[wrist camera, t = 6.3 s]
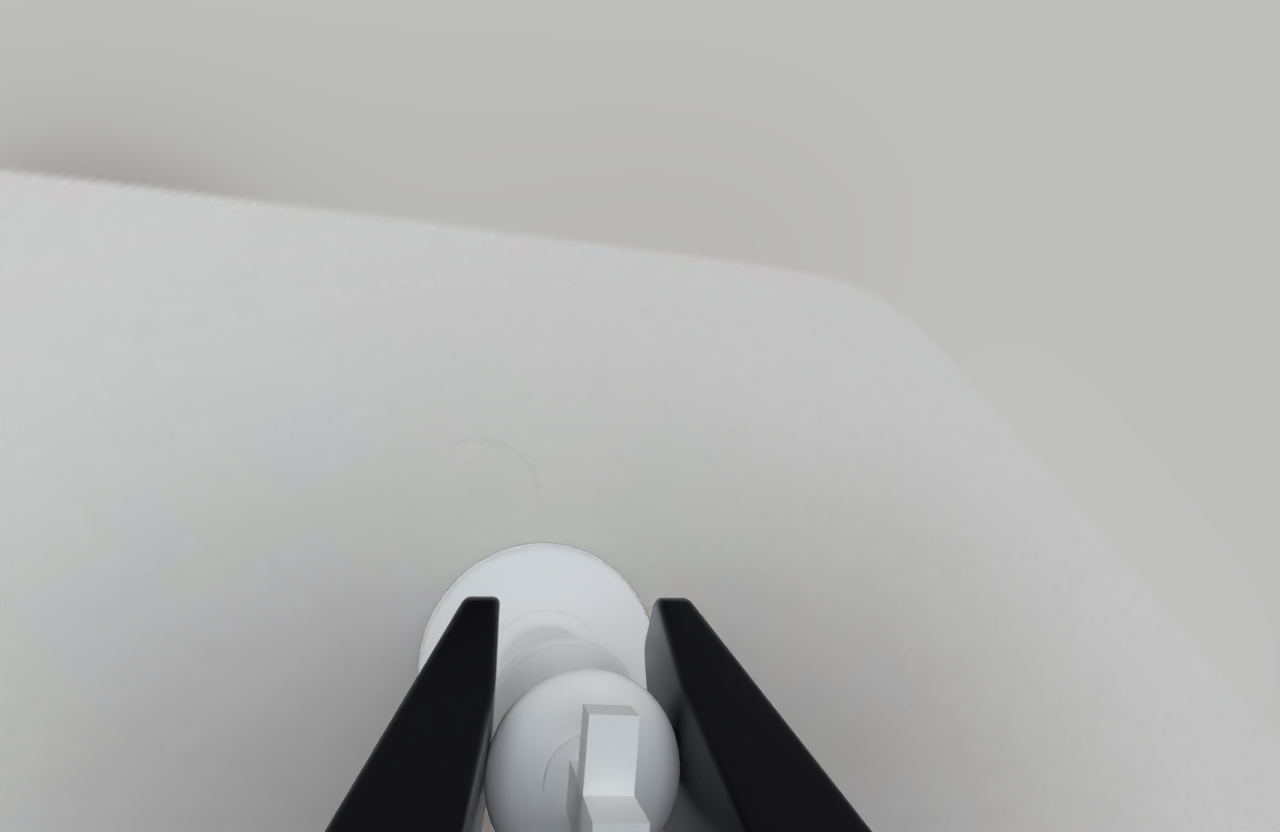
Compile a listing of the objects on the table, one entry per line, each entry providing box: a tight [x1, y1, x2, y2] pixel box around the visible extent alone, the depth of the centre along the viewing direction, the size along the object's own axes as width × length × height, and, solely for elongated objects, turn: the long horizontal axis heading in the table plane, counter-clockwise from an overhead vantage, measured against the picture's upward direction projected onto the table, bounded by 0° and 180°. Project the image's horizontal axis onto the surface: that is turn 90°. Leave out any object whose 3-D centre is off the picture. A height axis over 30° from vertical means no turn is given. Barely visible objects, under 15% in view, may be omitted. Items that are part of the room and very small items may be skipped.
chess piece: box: [418, 543, 680, 832], centre depth 10 cm, size 5×5×10 cm
